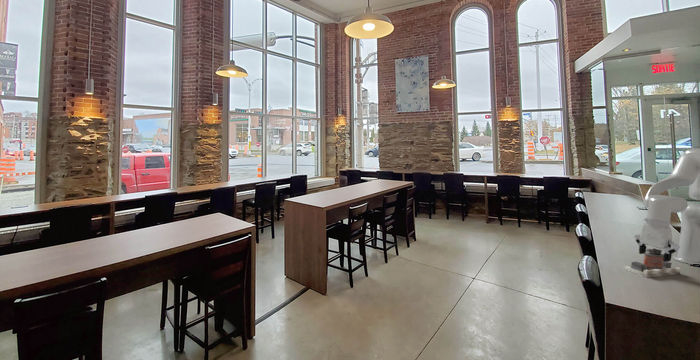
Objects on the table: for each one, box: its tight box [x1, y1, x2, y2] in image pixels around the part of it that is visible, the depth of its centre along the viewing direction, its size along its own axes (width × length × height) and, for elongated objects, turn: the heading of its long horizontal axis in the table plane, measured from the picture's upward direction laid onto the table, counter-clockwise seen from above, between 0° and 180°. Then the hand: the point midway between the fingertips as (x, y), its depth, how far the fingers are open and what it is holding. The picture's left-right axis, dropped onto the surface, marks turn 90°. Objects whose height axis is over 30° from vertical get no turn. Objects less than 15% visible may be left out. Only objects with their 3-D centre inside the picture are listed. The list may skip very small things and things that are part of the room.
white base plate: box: [624, 261, 682, 278], centre depth 138 cm, size 20×9×4 cm, turn 99°
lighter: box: [642, 247, 664, 270], centre depth 137 cm, size 8×3×10 cm, turn 84°
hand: (654, 257), depth 137 cm, fingers open, 9 cm apart
